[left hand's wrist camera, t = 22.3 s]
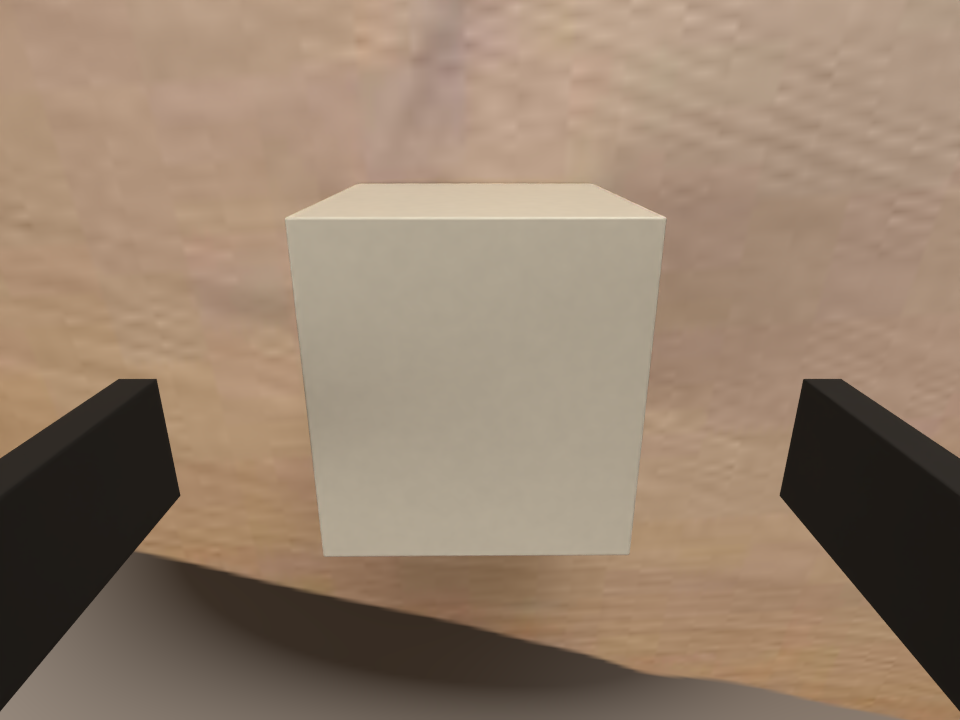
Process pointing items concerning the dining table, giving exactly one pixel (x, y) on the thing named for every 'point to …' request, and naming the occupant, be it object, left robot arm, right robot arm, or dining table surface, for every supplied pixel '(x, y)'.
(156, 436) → the left robot arm
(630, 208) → the block
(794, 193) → the dining table surface
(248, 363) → the dining table surface
